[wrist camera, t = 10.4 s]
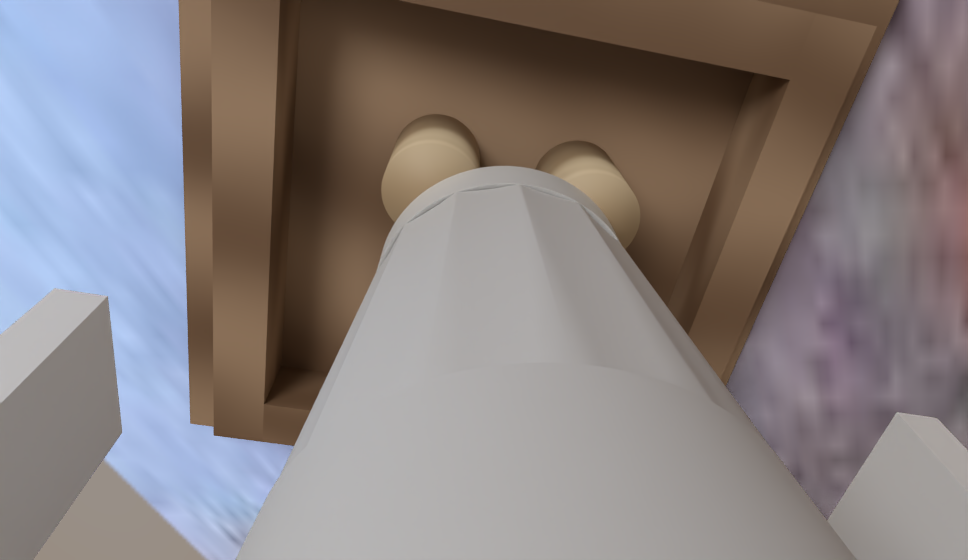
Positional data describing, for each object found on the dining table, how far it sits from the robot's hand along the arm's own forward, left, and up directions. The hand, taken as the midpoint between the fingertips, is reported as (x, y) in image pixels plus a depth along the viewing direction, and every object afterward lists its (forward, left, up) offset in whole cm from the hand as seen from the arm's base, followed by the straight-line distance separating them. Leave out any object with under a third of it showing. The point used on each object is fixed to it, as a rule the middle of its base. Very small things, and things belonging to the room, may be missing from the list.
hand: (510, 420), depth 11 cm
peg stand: (0, 0, -10) cm, 10 cm away
